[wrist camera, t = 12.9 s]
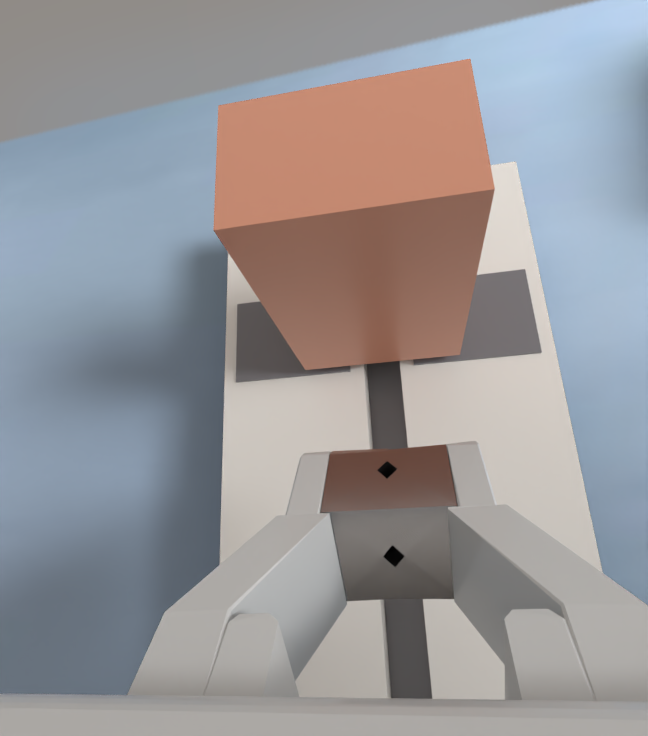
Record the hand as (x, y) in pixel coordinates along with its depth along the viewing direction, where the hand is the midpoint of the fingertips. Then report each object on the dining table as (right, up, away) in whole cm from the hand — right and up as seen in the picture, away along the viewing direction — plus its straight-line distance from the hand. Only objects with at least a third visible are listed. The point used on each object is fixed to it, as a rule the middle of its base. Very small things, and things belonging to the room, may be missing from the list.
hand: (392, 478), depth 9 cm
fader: (+1, +3, +10) cm, 10 cm away
